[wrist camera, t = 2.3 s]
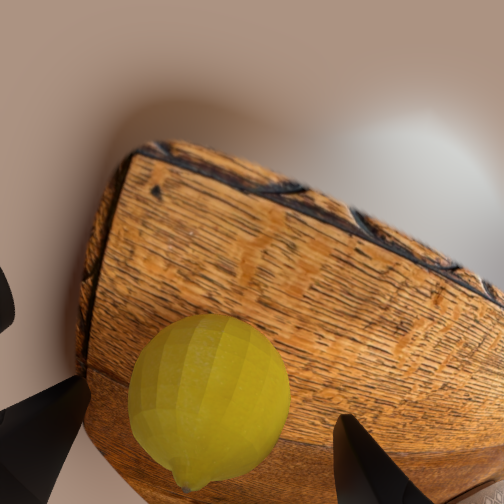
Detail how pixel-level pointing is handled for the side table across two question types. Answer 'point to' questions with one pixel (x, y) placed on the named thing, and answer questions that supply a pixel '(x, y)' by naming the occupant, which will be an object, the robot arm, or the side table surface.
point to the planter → (483, 494)
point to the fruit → (208, 399)
